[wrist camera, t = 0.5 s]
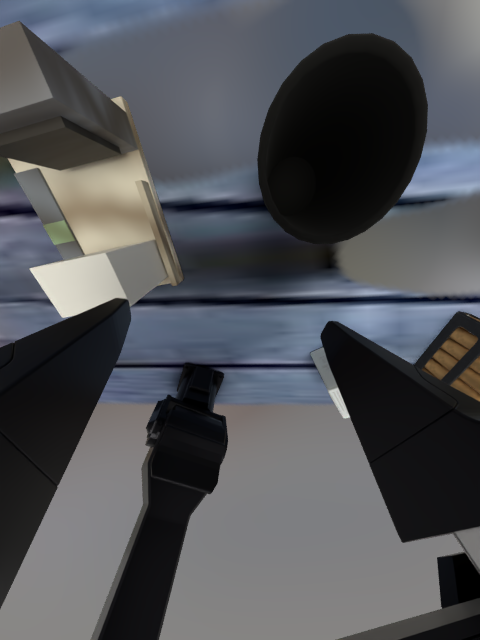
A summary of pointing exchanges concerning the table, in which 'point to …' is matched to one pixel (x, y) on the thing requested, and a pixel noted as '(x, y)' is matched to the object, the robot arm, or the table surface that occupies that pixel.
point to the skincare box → (329, 380)
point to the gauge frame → (76, 154)
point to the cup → (342, 138)
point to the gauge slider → (102, 277)
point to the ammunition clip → (456, 355)
